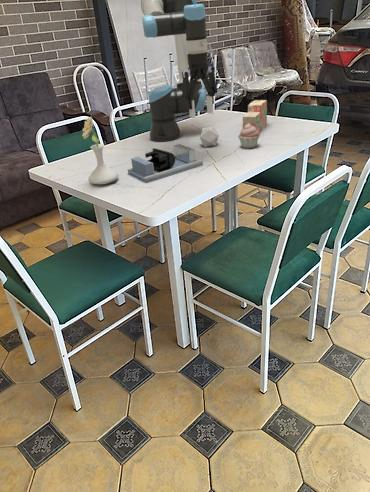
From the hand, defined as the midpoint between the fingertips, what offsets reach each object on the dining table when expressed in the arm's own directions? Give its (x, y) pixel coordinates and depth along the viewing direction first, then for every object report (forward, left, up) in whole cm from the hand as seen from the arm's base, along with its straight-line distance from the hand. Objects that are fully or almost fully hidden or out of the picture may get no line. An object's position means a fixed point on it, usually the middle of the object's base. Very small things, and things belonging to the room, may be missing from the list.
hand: (201, 115), depth 168 cm
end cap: (0, -21, -16) cm, 27 cm away
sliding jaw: (0, -8, -16) cm, 18 cm away
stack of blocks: (-14, +41, -18) cm, 47 cm away
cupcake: (+3, +22, -17) cm, 28 cm away
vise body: (0, -19, -17) cm, 26 cm away
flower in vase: (-6, -43, -17) cm, 47 cm away
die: (-12, +12, -17) cm, 24 cm away
